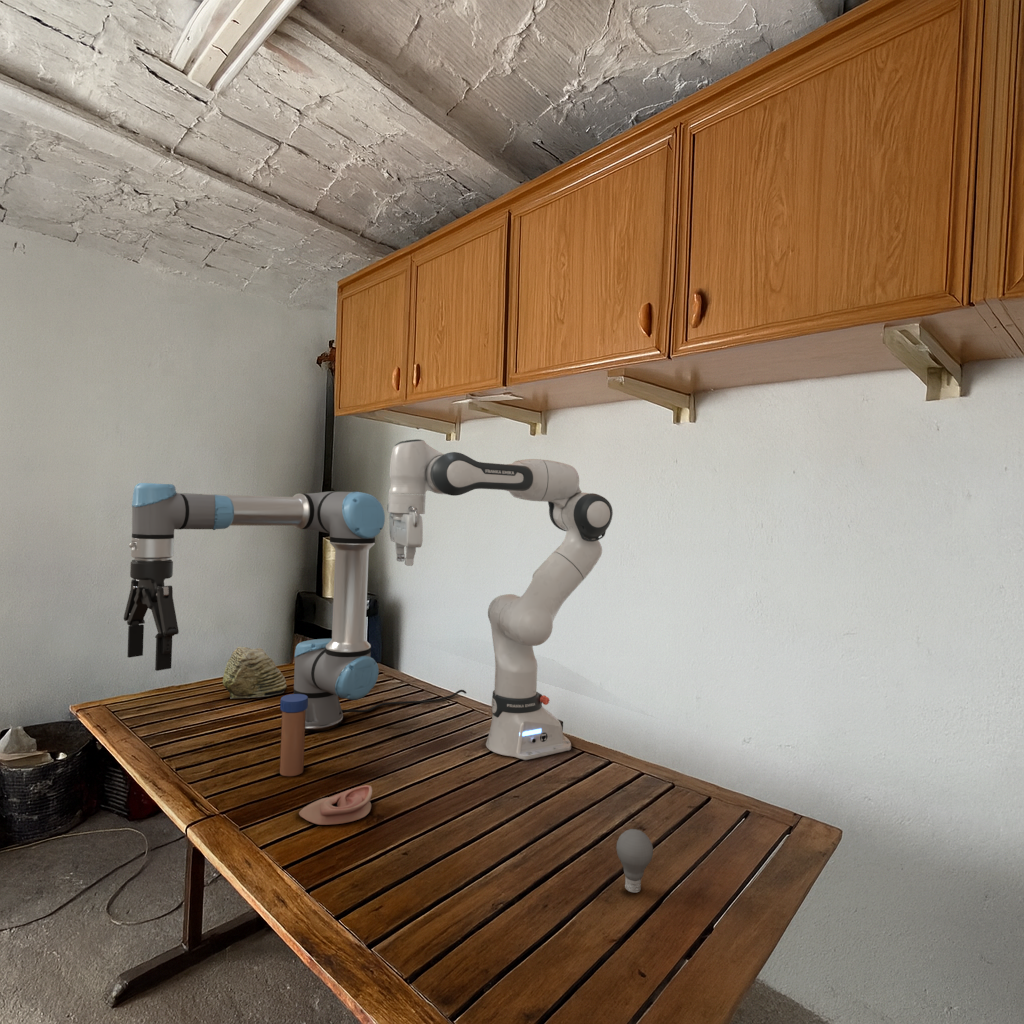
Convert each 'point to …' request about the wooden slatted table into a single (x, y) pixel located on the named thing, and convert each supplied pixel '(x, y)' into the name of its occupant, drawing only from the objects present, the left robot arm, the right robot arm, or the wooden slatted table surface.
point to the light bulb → (634, 857)
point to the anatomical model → (339, 807)
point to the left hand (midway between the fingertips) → (148, 662)
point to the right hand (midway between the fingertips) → (404, 563)
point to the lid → (294, 703)
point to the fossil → (252, 674)
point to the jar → (292, 743)
